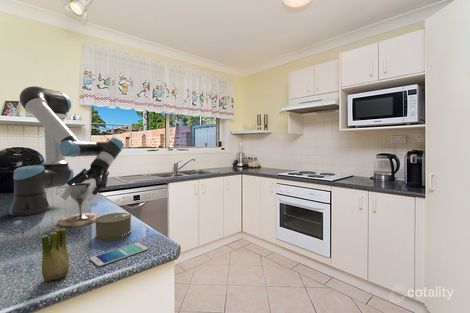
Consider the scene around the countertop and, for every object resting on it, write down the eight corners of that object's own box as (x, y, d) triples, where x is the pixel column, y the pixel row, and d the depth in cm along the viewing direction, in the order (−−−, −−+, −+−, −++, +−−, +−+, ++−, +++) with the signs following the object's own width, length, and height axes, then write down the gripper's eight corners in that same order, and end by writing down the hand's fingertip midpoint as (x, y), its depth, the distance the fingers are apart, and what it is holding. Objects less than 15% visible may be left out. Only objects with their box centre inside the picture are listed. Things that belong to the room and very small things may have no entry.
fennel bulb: (42, 286, 55) (41, 236, 54) (39, 278, 58) (37, 231, 57) (72, 276, 59) (71, 230, 58) (67, 269, 62) (66, 225, 62)
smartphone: (149, 248, 75) (98, 266, 63) (149, 250, 75) (98, 269, 63) (137, 242, 80) (88, 257, 68) (137, 244, 80) (88, 260, 68)
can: (90, 235, 87) (90, 217, 87) (123, 227, 96) (123, 211, 95) (101, 244, 79) (101, 224, 78) (136, 235, 87) (136, 217, 87)
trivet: (75, 228, 94) (75, 225, 94) (48, 224, 99) (48, 221, 99) (109, 217, 109) (108, 214, 109) (84, 214, 114) (84, 211, 114)
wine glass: (68, 221, 99) (67, 186, 98) (71, 216, 106) (70, 183, 105) (90, 218, 102) (89, 184, 102) (91, 214, 109) (91, 182, 109)
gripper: (127, 168, 115) (103, 205, 101) (86, 167, 121) (59, 202, 107) (119, 158, 110) (93, 196, 96) (77, 157, 116) (46, 193, 102)
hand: (75, 199), depth 101 cm, fingers open, 13 cm apart
